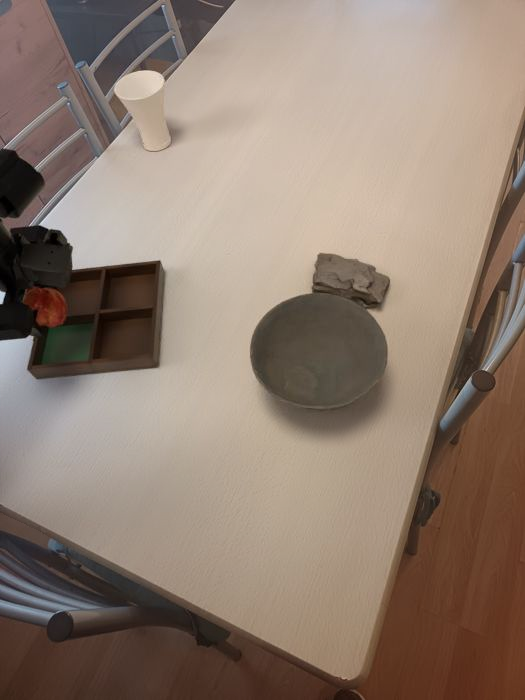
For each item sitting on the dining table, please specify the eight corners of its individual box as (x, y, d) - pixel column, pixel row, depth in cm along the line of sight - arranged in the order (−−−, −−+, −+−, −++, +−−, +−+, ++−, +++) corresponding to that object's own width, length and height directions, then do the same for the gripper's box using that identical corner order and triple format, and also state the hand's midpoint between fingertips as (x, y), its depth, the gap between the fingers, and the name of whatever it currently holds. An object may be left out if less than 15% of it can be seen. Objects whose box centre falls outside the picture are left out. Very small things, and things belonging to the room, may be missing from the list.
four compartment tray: (36, 379, 82) (26, 369, 79) (57, 283, 93) (49, 272, 90) (158, 367, 81) (153, 357, 78) (164, 271, 92) (160, 260, 89)
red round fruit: (66, 351, 77) (85, 291, 75) (22, 350, 71) (42, 284, 69) (39, 332, 80) (57, 274, 79) (-5, 329, 74) (13, 266, 72)
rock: (393, 274, 87) (396, 258, 83) (379, 314, 82) (381, 299, 79) (319, 256, 90) (319, 240, 87) (301, 294, 86) (300, 279, 83)
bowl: (233, 375, 79) (223, 341, 70) (323, 311, 84) (323, 272, 75) (310, 464, 70) (309, 436, 62) (405, 386, 75) (417, 351, 67)
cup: (166, 160, 109) (149, 102, 98) (126, 153, 112) (104, 95, 101) (187, 132, 114) (173, 73, 103) (148, 125, 117) (130, 67, 106)
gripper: (37, 294, 58) (89, 363, 71) (63, 187, 68) (104, 265, 81) (-56, 303, 58) (13, 370, 71) (-16, 196, 68) (37, 272, 81)
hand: (45, 316), depth 76 cm, fingers closed on red round fruit, 7 cm apart
